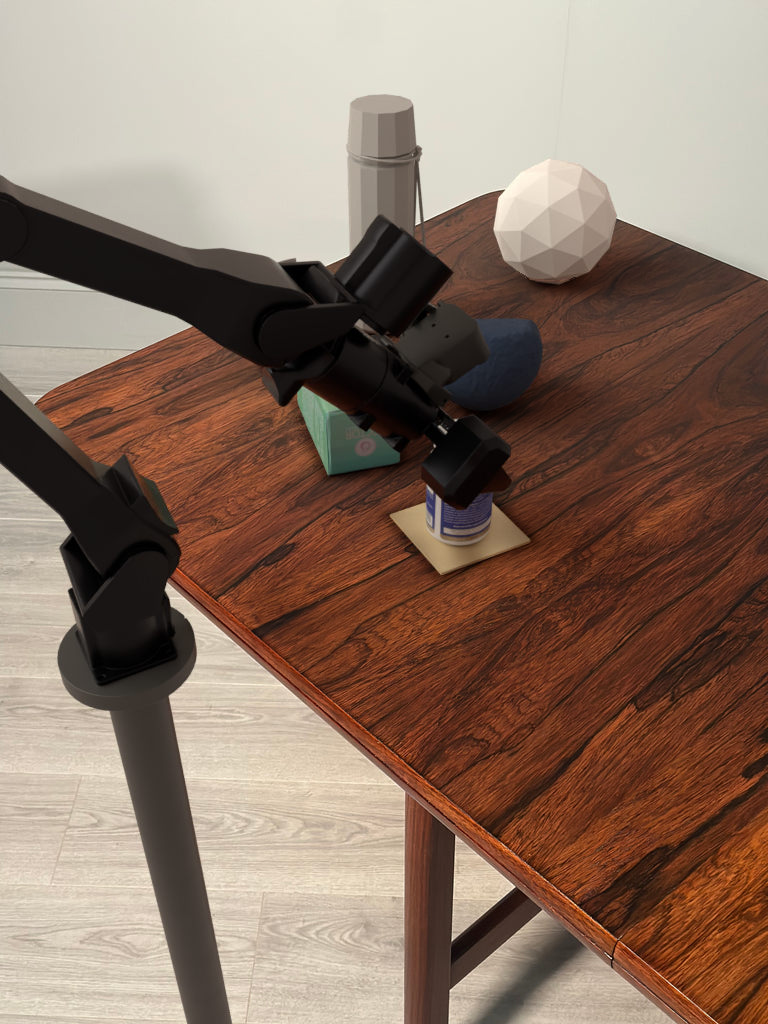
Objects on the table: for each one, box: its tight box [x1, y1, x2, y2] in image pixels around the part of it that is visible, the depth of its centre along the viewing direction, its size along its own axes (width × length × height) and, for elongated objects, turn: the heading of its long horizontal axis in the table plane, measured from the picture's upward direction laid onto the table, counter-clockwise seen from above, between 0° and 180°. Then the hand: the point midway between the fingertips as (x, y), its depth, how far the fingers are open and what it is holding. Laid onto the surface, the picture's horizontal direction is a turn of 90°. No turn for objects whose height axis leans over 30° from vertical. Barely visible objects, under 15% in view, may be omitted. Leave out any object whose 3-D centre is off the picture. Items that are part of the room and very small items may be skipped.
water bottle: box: [345, 93, 427, 335], centre depth 115 cm, size 9×8×25 cm
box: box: [296, 386, 401, 476], centre depth 101 cm, size 7×14×8 cm, turn 16°
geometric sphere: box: [493, 158, 618, 285], centre depth 128 cm, size 14×15×15 cm
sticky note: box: [389, 501, 532, 576], centre depth 92 cm, size 9×9×1 cm
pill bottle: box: [425, 418, 494, 546], centre depth 89 cm, size 6×6×10 cm
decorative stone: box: [443, 317, 544, 412], centre depth 105 cm, size 12×12×10 cm
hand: (477, 456), depth 88 cm, fingers open, 9 cm apart
